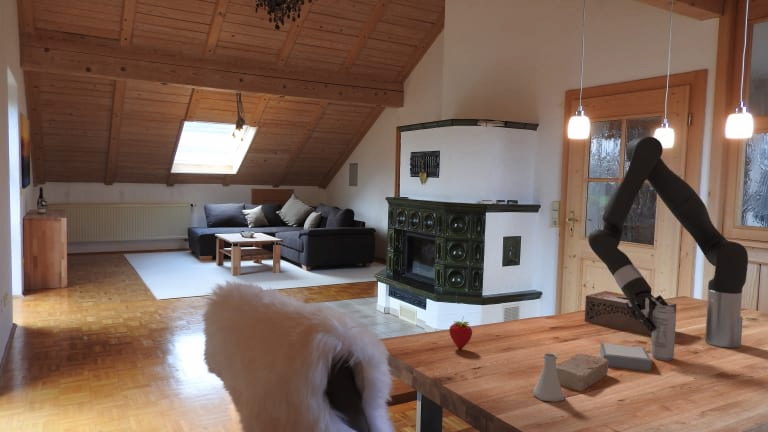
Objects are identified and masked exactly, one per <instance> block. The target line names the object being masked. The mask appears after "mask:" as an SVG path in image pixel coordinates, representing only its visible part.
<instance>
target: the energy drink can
mask: <svg viewBox="0 0 768 432" xmlns="http://www.w3.org/2000/svg"><path fill="white" fill-rule="evenodd" d="M655 307H656V308H655V309H654V311H653V319H652V321H653V323H654V324H655V326H656V327H657V329H656V330H655V331H653V332H652V337H650V338H651V340H650V341H651V342H650V354H651V355H652V358H653V359H655V360H658V361H659V360H660V361H671V360H672V359H673V358H674V357H675V339H676V326H677V324H676V323H677V312H676V313H675V311H674V308H673V307H670V306H662V305H658V306H655Z"/></svg>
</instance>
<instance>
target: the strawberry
mask: <svg viewBox="0 0 768 432" xmlns="http://www.w3.org/2000/svg"><path fill="white" fill-rule="evenodd" d="M464 317H465V316H464V315H463V317H462V320H461V321H458V320H457V321H455V320H454V321H453V322H454V323H452V324H451V325H450V326H449V331H448V332H449V335H450V338H451V340H452V342H453V343H454V345H455V346H456V348H457V349H458V350H463V348H464V347H465V346H466V345H467V344H469V342H470V340H471V339H472V336H473V330H472V328H471V326H470V324H469V323H470V322H469V321H463V320H464Z"/></svg>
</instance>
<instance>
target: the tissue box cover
mask: <svg viewBox="0 0 768 432" xmlns="http://www.w3.org/2000/svg"><path fill="white" fill-rule="evenodd" d="M628 301H629V300H628V299H627V297H626V296H625V294H624V293H619V292H615V291H608V290H603V291H599V292H595V293H591V294H587V295H585V301H584V303H585V305H584V306H585V307H584V322H585V323H589V324H593V325H597V326H602V327H607V328H611V329H615V330H620V331H624V332H627V333H632V334H637V335H640V336H645V337H649V338H652V332H650V331H649V330H648V328H647V327H646V325H645V324H644V322H643V321H641V320H639V319H638V320H636V319H635V318H634V317H633V315H632V314H631V312H630V310H629V309H628V307H627V305H626V302H628ZM665 302H666V303H667V304H668V305H669V306H670V307H673V308H674V311H675V313H676V314H677V307H678V306H677V305H678V304H677V303H676V302H670V301H665ZM635 313H636V314H638V313H637V311H635ZM648 315H649V317H650V318H651V320H652V319H653V313H650V312H648Z"/></svg>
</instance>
